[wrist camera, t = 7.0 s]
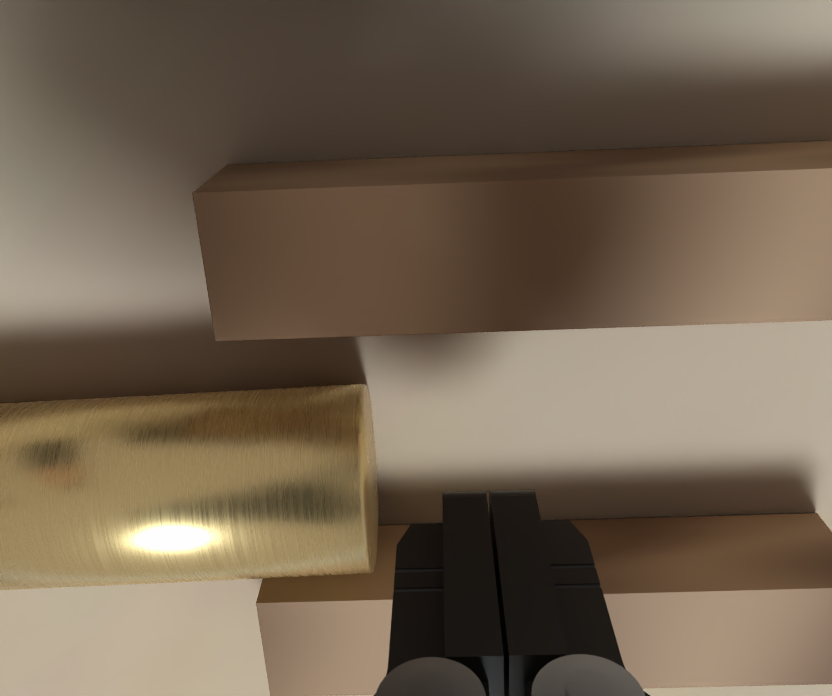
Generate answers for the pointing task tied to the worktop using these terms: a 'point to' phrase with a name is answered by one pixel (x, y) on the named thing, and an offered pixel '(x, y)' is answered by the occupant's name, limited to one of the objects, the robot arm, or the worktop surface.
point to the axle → (188, 487)
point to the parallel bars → (546, 310)
